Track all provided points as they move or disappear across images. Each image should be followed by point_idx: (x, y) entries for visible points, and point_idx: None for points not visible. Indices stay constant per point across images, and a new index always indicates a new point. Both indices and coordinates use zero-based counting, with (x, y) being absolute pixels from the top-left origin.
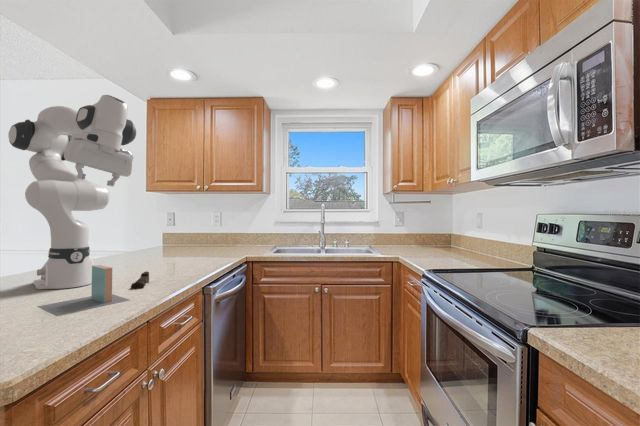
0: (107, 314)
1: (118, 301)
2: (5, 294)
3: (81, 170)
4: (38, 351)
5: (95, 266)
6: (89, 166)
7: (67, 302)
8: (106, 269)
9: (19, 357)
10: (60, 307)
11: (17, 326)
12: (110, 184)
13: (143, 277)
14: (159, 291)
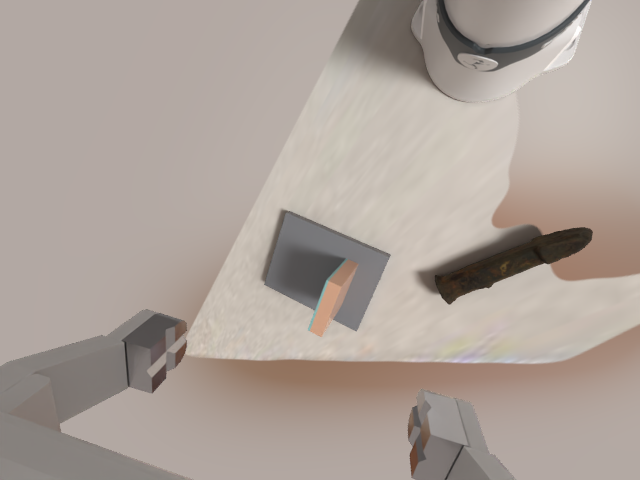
0: None
1: (343, 317)
2: (357, 3)
3: (82, 404)
4: (211, 334)
5: (323, 292)
6: (106, 467)
7: (315, 239)
8: (311, 330)
9: (200, 328)
10: (292, 254)
11: (243, 248)
12: (414, 435)
13: (517, 266)
14: (464, 325)
